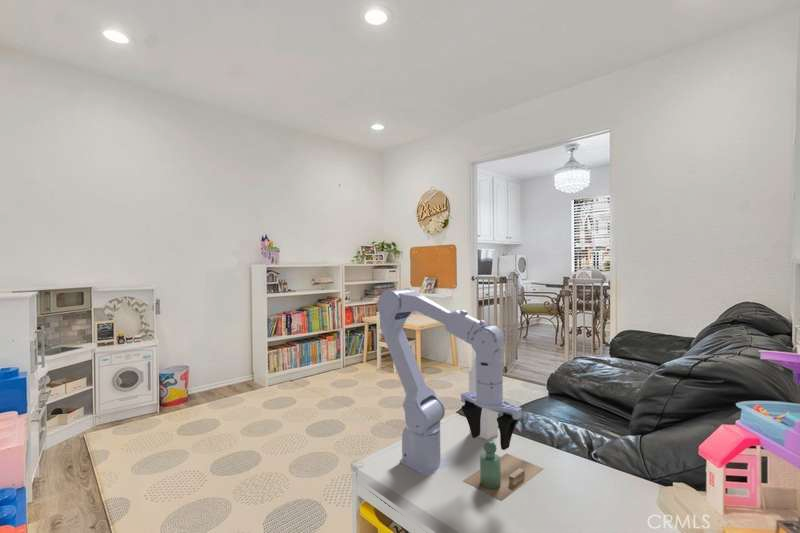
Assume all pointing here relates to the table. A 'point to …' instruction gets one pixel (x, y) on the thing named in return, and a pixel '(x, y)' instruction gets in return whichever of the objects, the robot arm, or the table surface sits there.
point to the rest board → (507, 476)
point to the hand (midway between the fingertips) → (490, 442)
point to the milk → (483, 410)
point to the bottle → (490, 467)
